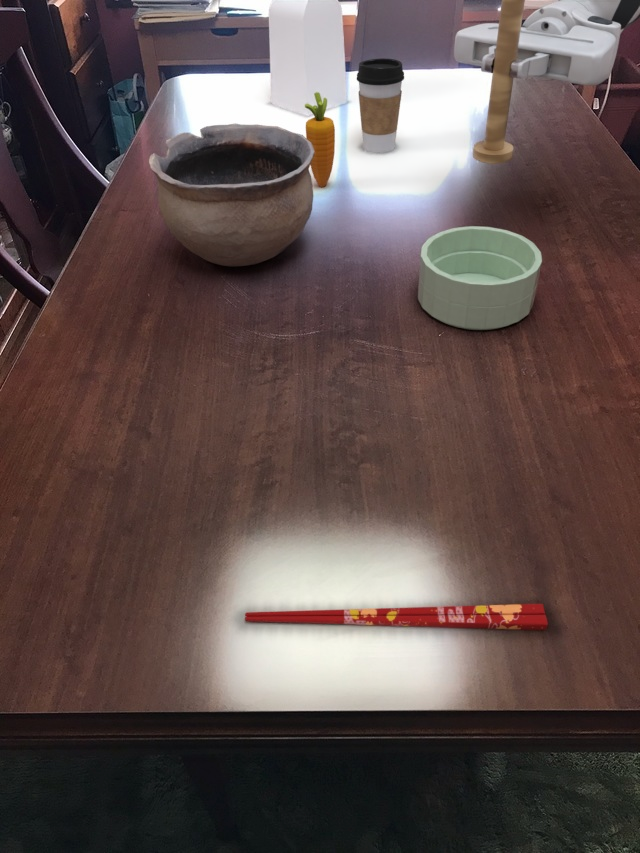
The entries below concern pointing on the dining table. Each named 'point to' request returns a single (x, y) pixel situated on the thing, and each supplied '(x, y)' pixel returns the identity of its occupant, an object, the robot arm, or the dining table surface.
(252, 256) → the ceramic bowl
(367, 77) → the coffee cup
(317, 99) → the carrot
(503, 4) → the muddler
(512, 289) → the celadon bowl
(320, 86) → the milk
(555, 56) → the robot arm
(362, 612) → the chopstick
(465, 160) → the dining table surface
